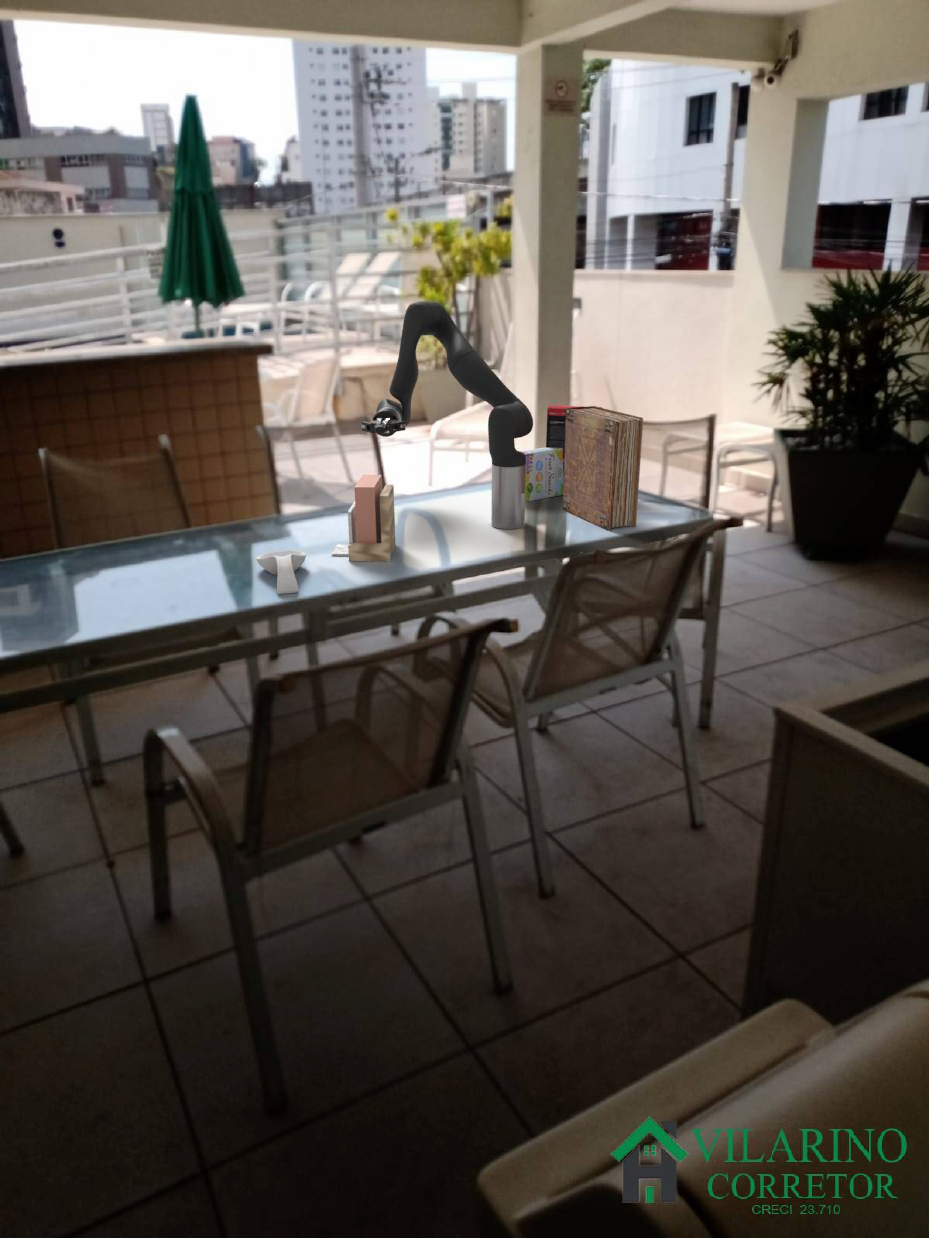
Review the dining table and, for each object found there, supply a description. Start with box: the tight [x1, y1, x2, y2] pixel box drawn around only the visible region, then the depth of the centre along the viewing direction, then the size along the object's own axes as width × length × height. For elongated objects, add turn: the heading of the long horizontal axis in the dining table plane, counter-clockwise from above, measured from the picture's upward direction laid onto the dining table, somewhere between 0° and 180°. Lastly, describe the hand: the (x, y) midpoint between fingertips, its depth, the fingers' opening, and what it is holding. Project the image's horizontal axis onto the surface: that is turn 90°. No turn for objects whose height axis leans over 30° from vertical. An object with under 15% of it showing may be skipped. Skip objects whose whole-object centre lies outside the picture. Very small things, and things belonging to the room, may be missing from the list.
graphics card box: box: [545, 405, 603, 472], centre depth 281 cm, size 17×7×27 cm, turn 80°
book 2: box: [562, 405, 644, 532], centre depth 252 cm, size 25×9×30 cm, turn 24°
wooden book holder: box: [347, 484, 397, 562], centre depth 224 cm, size 10×14×16 cm
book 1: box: [354, 474, 383, 543], centre depth 226 cm, size 5×14×18 cm, turn 178°
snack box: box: [520, 446, 564, 503], centre depth 278 cm, size 21×6×15 cm, turn 125°
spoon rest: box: [255, 550, 307, 595], centre depth 208 cm, size 24×12×7 cm, turn 16°
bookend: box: [331, 500, 357, 557], centre depth 226 cm, size 6×12×12 cm, turn 178°
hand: (379, 430), depth 242 cm, fingers closed
